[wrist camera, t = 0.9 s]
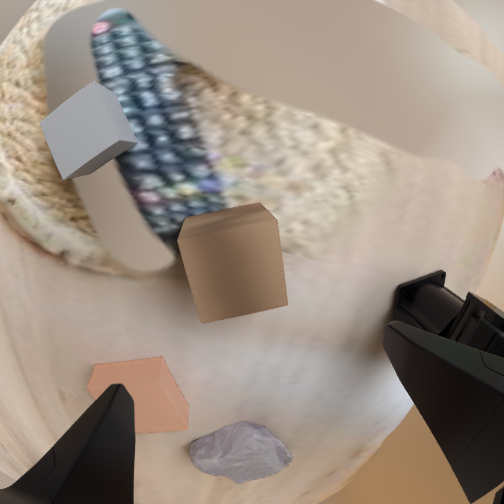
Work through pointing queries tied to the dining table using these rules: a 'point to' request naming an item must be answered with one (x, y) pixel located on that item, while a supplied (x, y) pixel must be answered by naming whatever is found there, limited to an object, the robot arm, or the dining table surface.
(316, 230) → the dining table surface
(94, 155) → the grey block
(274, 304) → the walnut cube
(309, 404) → the dining table surface
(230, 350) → the dining table surface
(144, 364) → the terracotta block
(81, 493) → the robot arm
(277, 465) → the stone block
